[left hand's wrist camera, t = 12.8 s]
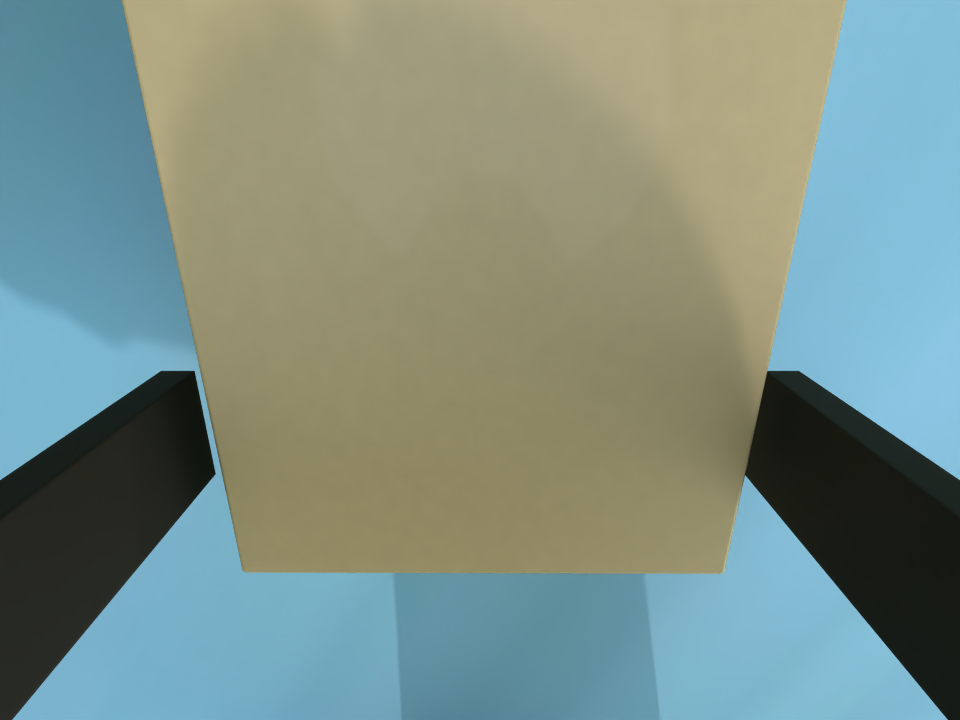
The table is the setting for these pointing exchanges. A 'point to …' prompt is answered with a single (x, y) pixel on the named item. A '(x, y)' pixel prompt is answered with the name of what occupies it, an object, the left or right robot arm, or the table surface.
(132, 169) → the table surface
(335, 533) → the tan cardboard carton
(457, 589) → the table surface
